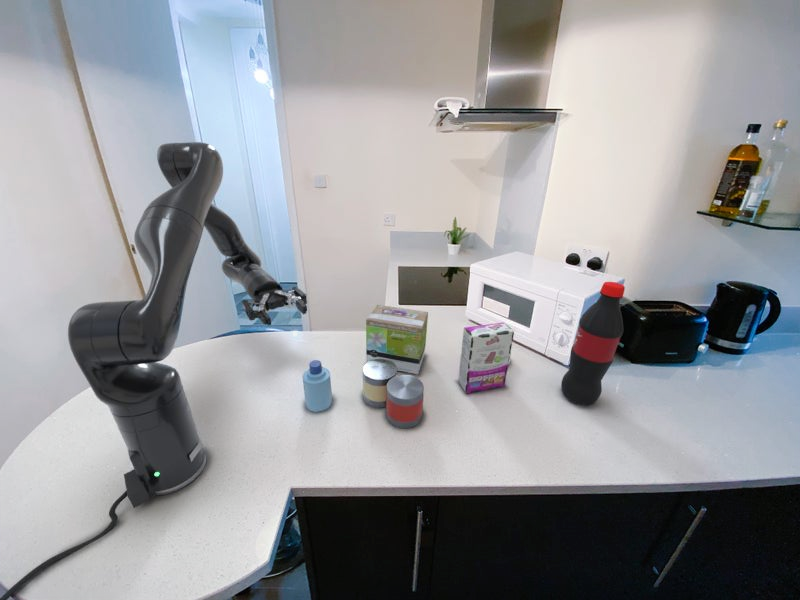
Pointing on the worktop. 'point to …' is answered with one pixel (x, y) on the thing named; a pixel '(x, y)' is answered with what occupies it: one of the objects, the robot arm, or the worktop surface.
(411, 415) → the can front
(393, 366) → the can back
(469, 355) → the candy bar box
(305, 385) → the plastic bottle
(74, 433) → the worktop surface
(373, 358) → the tea box
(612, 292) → the cola bottle
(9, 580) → the worktop surface
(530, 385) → the worktop surface
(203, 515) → the worktop surface
